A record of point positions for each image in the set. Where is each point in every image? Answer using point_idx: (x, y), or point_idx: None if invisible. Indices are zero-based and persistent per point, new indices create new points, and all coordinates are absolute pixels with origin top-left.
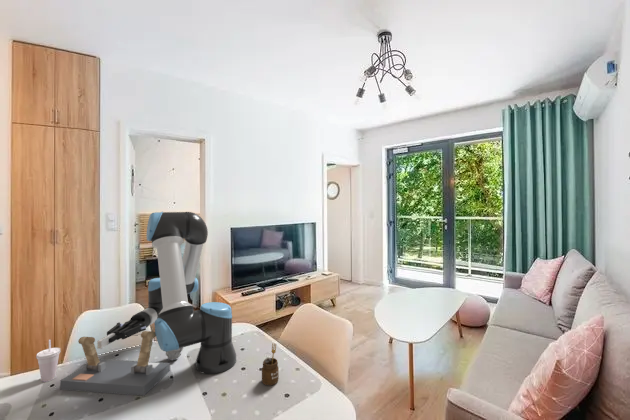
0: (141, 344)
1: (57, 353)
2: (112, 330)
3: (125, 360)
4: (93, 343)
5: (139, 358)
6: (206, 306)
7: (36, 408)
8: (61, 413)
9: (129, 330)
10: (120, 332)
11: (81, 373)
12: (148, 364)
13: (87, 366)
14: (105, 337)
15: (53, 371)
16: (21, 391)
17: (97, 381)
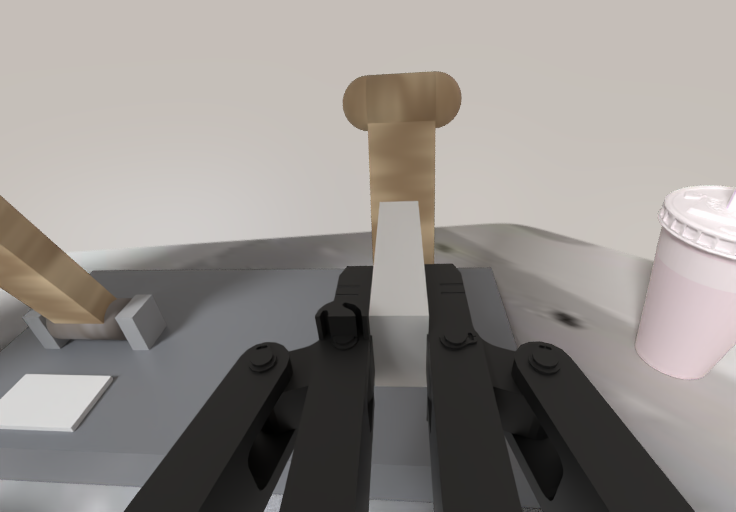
0: (20, 216)
1: (678, 230)
2: (555, 435)
3: None
4: (369, 142)
5: (82, 274)
6: None
7: (452, 239)
8: (351, 234)
9: (183, 447)
10: (315, 360)
11: None
12: (60, 401)
13: None
14: (403, 240)
15: (645, 316)
16: (641, 282)
17: (308, 275)
